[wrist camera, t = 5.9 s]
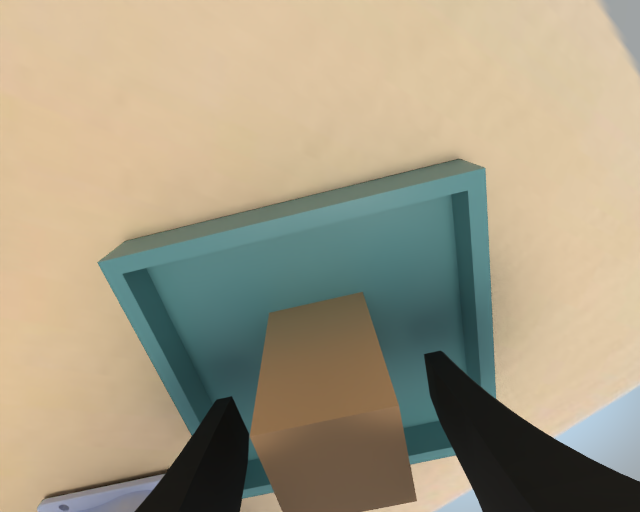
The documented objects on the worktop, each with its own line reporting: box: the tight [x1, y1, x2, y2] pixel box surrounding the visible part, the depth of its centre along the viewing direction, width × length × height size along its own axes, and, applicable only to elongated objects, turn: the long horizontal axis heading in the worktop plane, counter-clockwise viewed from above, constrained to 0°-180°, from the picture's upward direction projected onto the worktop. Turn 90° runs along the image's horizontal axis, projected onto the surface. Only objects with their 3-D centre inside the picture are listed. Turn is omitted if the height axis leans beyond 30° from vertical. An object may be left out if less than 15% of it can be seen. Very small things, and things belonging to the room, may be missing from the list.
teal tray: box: [97, 159, 496, 499], centre depth 15 cm, size 13×13×2 cm
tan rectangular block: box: [250, 292, 417, 512], centre depth 13 cm, size 4×4×6 cm
